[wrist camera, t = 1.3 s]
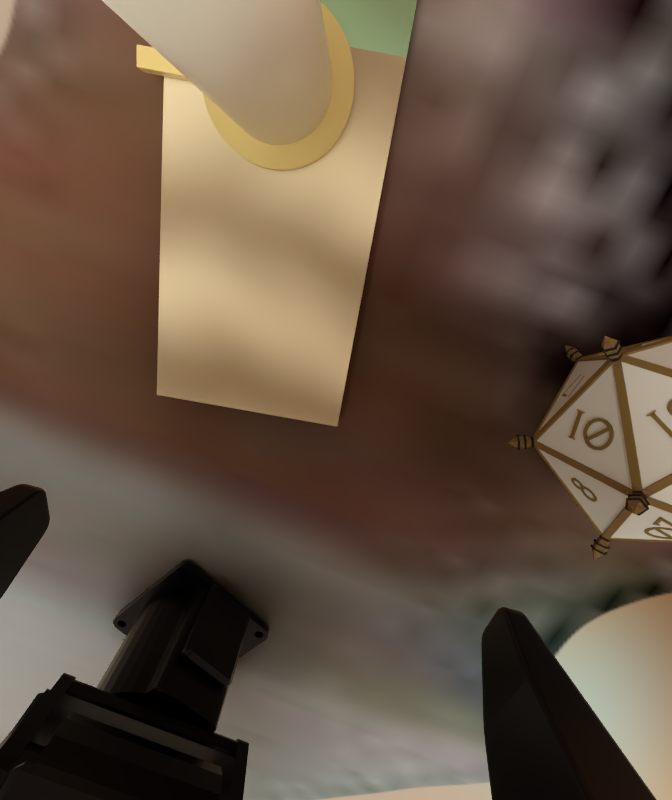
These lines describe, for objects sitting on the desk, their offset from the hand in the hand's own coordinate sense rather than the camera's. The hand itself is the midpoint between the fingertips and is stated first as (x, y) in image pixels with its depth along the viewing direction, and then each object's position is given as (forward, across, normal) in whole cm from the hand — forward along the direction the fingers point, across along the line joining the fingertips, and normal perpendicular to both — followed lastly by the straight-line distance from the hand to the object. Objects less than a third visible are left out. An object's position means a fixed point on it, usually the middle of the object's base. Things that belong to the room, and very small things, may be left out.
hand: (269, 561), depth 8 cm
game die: (+13, -12, 0) cm, 17 cm away
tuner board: (+12, +4, -5) cm, 14 cm away
